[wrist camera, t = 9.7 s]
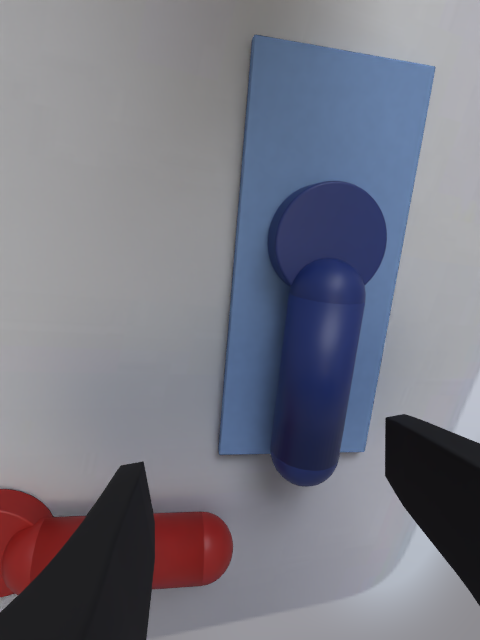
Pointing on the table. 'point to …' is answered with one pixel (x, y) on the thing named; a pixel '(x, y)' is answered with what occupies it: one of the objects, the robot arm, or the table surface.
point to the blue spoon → (320, 319)
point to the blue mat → (302, 170)
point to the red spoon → (53, 532)
